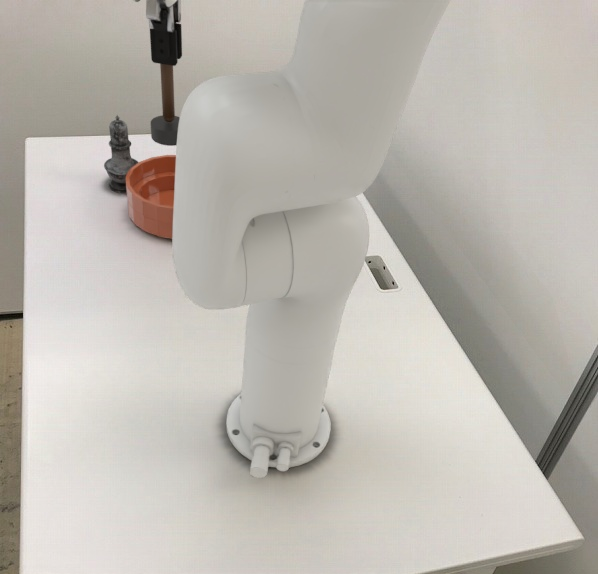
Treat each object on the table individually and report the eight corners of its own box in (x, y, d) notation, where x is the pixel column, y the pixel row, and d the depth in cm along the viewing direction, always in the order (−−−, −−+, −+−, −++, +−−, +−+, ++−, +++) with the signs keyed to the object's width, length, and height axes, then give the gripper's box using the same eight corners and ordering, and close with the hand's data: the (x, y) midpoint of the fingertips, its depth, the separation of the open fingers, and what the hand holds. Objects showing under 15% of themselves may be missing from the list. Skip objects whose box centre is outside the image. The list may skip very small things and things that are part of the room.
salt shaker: (99, 188, 108) (90, 118, 99) (116, 172, 112) (109, 103, 103) (131, 197, 107) (125, 127, 99) (147, 181, 111) (142, 112, 102)
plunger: (183, 148, 88) (179, 20, 76) (147, 142, 88) (138, 13, 76) (191, 132, 91) (189, 7, 79) (156, 126, 91) (149, 1, 79)
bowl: (218, 249, 100) (219, 215, 96) (116, 233, 100) (112, 198, 96) (236, 196, 111) (237, 163, 107) (144, 181, 111) (141, 148, 107)
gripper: (145, -139, 74) (154, 35, 87) (100, -116, 63) (119, 79, 77) (209, -129, 74) (209, 43, 87) (175, -104, 63) (181, 88, 77)
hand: (167, 59), depth 82 cm, fingers closed on plunger
